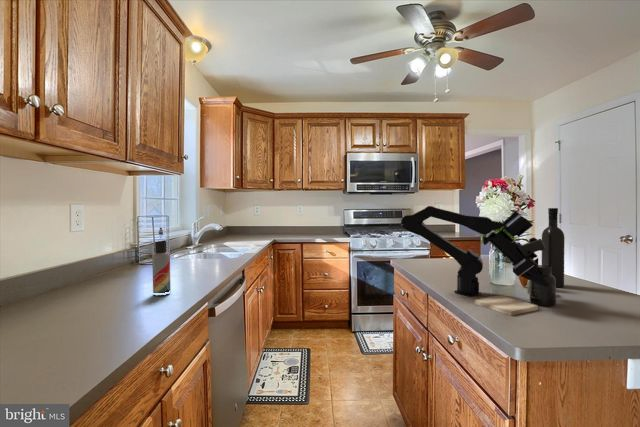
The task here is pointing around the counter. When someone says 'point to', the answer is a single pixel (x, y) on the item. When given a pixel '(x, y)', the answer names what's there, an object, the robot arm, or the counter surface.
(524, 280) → the carrot
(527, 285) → the oak block
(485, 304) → the maple board
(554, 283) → the supplement bottle
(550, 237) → the wine bottle
